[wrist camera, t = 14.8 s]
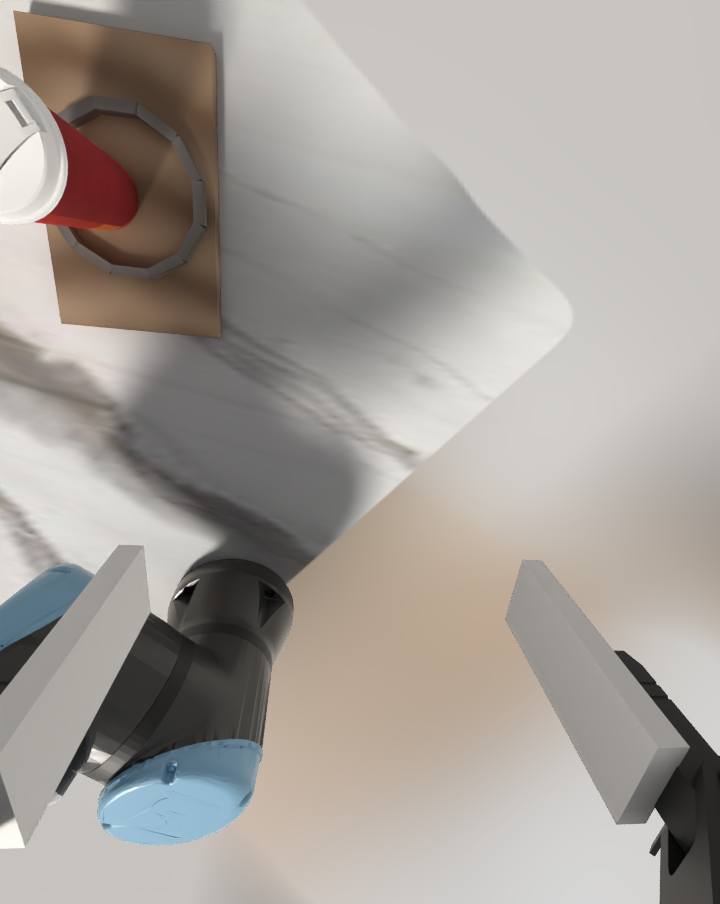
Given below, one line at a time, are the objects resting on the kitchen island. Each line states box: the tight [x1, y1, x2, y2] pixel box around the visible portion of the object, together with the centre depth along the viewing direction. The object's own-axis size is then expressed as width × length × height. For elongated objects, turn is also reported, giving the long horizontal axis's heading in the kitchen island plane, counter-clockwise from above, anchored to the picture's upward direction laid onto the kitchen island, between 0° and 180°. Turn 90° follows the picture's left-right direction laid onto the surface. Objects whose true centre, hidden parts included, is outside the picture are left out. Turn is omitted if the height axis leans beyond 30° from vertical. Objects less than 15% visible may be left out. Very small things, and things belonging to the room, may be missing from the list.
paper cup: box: [0, 67, 138, 231], centre depth 28 cm, size 8×8×14 cm
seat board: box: [13, 11, 221, 338], centre depth 35 cm, size 22×14×3 cm, turn 174°
